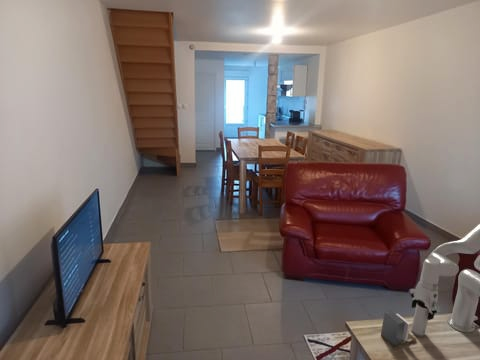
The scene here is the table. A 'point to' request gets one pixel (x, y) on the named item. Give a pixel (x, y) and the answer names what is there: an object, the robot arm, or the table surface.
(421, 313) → the travel mug
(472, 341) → the table surface
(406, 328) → the white flat slab
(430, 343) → the table surface
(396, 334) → the grey bracket
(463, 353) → the table surface
